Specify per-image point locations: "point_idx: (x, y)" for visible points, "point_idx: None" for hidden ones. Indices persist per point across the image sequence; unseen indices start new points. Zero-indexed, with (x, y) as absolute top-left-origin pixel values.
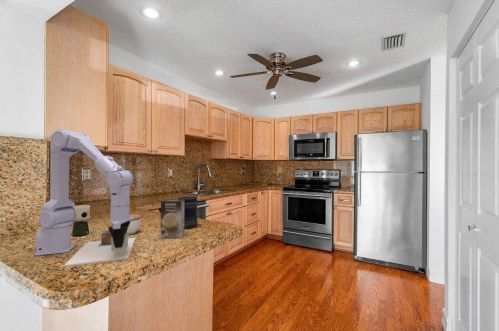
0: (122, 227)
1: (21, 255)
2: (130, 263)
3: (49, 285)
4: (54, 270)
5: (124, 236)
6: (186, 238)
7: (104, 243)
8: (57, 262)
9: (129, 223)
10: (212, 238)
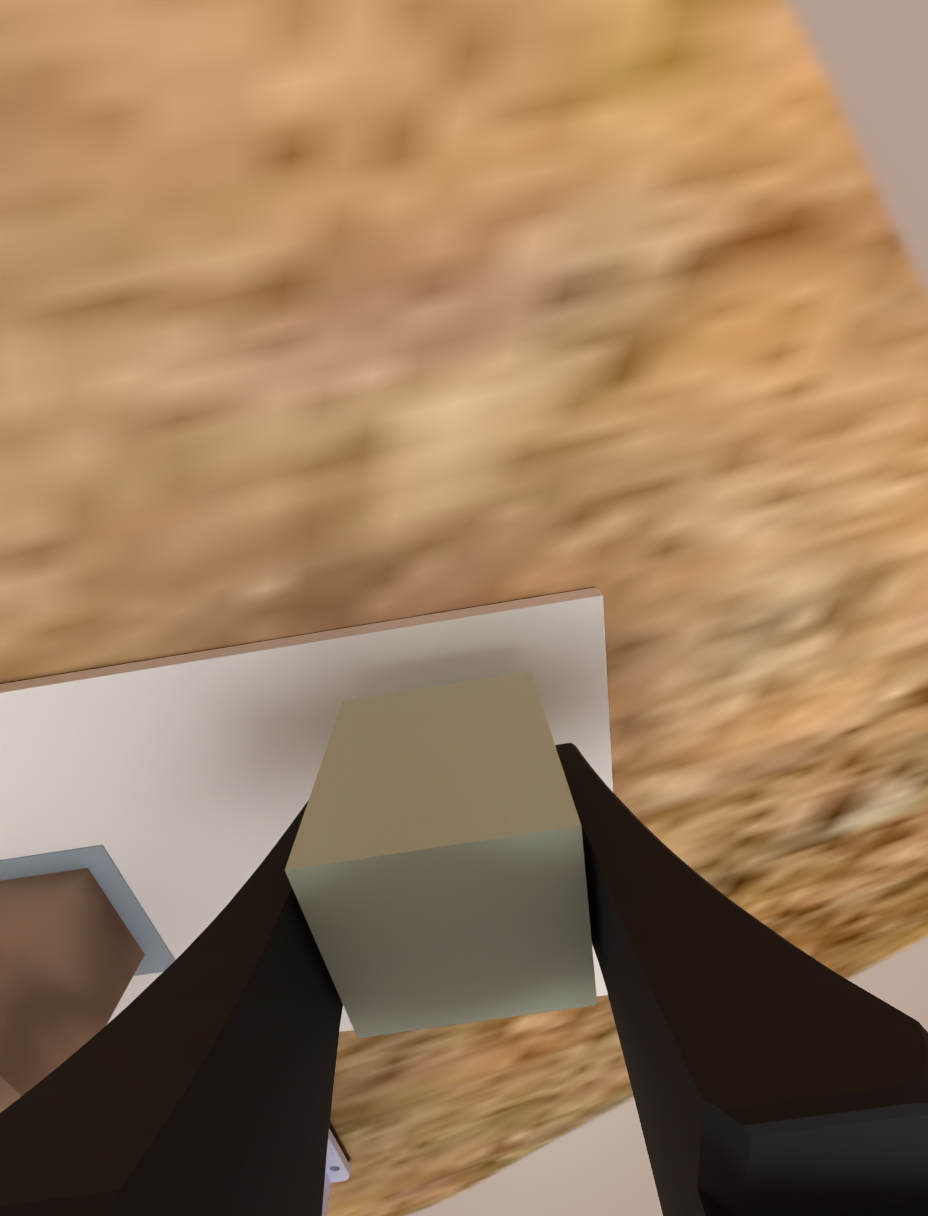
0: (898, 1198)
1: None
2: (750, 520)
3: (924, 919)
4: None
5: (574, 856)
6: None
7: (121, 955)
8: (504, 1036)
9: (134, 1193)
10: None
